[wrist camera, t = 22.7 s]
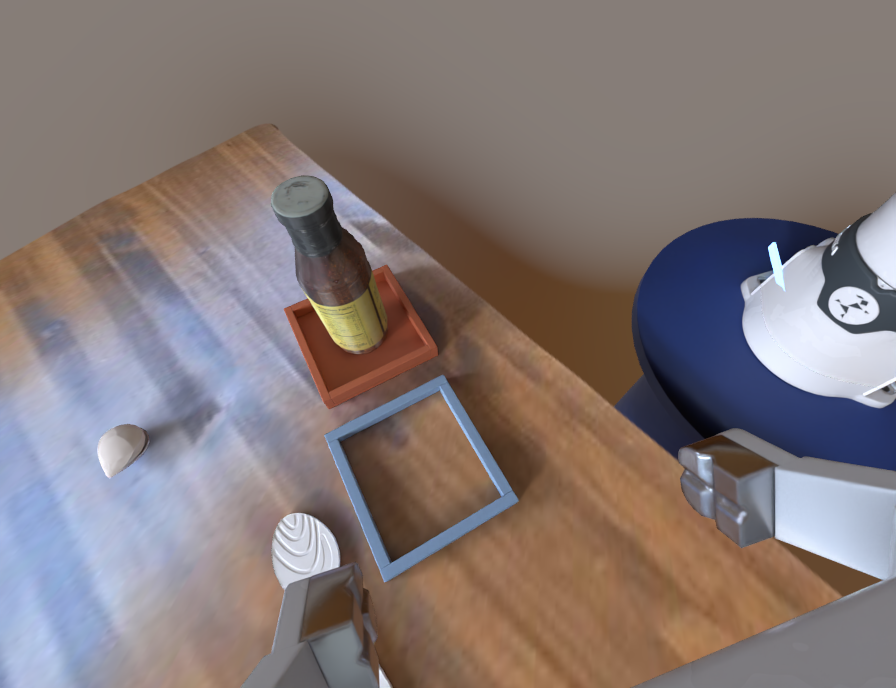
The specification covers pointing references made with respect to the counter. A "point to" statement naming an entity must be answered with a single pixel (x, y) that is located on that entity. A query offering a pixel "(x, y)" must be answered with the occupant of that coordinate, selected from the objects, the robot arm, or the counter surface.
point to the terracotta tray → (360, 372)
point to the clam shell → (121, 448)
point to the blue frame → (358, 500)
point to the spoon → (306, 554)
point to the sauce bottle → (331, 266)
